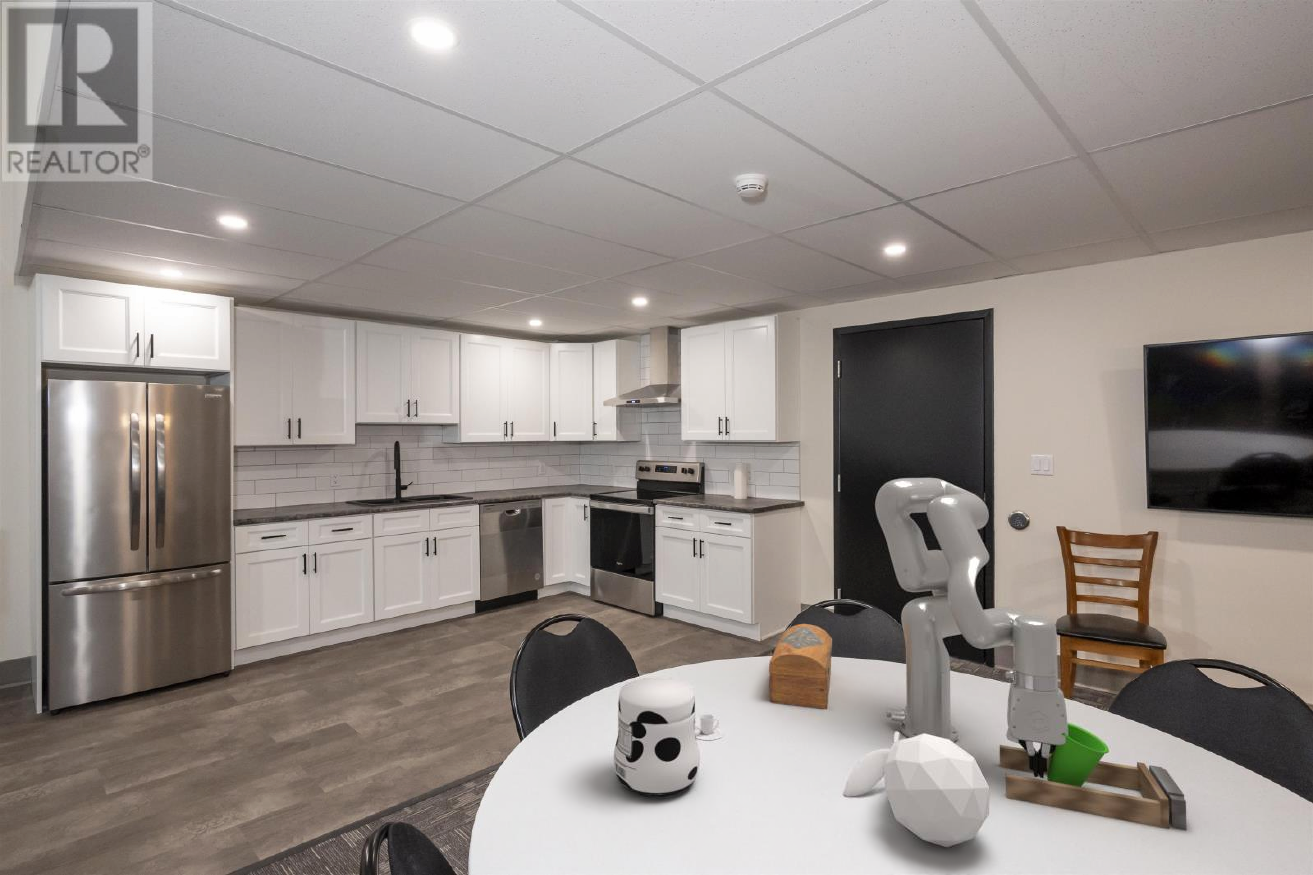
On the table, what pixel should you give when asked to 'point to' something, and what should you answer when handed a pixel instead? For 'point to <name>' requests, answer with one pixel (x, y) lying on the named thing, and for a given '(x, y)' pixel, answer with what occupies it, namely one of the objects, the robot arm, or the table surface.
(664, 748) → the milk container
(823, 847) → the table surface
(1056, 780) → the cup
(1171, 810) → the bay
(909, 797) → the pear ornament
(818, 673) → the wooden box
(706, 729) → the teacup and saucer
